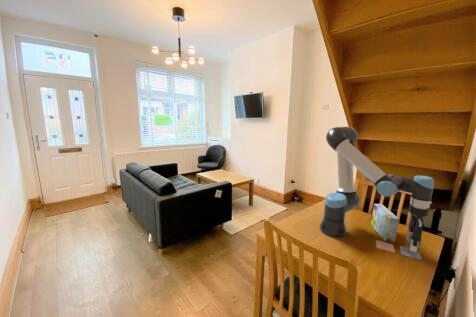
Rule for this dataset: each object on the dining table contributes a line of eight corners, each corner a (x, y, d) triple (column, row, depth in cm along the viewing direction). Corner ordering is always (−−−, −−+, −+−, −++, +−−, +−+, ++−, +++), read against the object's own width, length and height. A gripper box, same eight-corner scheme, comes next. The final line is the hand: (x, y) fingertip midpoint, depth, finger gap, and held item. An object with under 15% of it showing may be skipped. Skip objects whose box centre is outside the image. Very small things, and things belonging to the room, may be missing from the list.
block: (406, 249, 107) (409, 235, 106) (404, 244, 112) (407, 230, 110) (419, 252, 105) (421, 237, 103) (416, 247, 109) (419, 233, 108)
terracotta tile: (376, 248, 113) (377, 247, 113) (375, 240, 120) (375, 240, 120) (394, 252, 109) (395, 252, 109) (392, 244, 116) (392, 244, 116)
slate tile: (402, 254, 108) (402, 254, 108) (399, 246, 114) (399, 245, 114) (421, 260, 104) (422, 259, 104) (417, 251, 111) (418, 250, 111)
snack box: (396, 243, 117) (400, 219, 114) (385, 242, 118) (389, 218, 115) (379, 224, 138) (382, 203, 135) (369, 223, 139) (372, 202, 136)
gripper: (435, 215, 94) (425, 260, 99) (424, 201, 110) (416, 241, 114) (414, 211, 98) (406, 255, 102) (406, 199, 113) (399, 237, 118)
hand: (411, 247), depth 108 cm, fingers closed on block, 5 cm apart
